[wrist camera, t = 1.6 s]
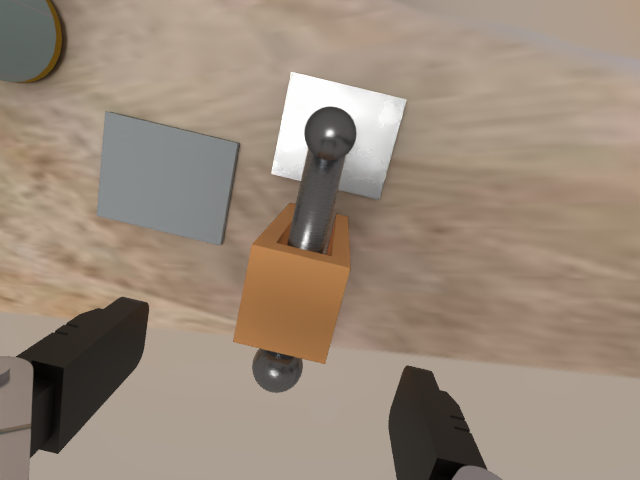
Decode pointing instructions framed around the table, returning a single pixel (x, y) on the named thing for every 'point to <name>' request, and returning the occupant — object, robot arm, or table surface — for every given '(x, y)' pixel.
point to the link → (293, 291)
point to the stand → (327, 172)
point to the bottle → (28, 39)
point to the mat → (166, 178)
